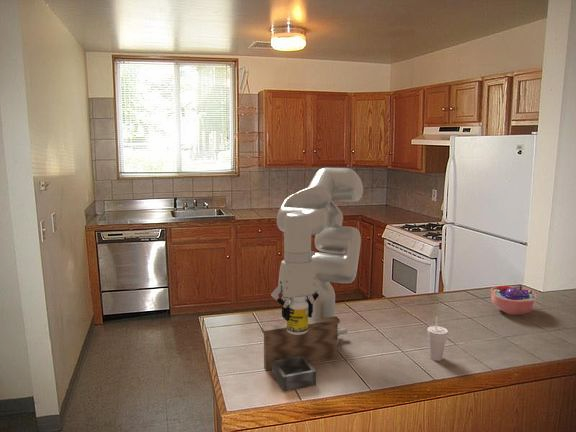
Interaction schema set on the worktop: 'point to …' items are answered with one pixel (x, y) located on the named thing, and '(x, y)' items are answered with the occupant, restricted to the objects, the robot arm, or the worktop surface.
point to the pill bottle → (298, 315)
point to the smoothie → (436, 341)
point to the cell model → (513, 299)
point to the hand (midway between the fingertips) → (297, 316)
